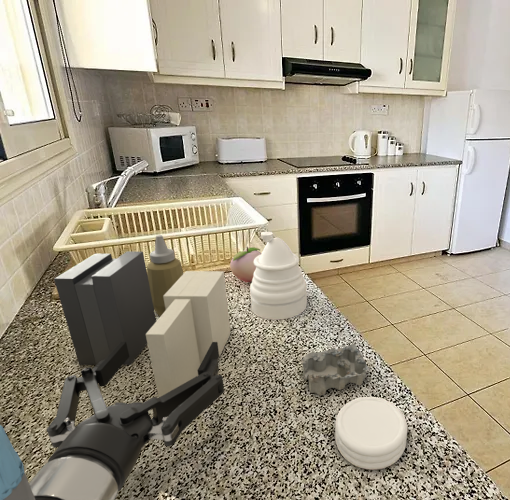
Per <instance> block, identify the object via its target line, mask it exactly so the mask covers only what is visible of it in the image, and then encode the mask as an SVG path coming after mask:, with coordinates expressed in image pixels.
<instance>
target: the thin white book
mask: <svg viewBox="0 0 510 500" xmlns="http://www.w3.org/2000/svg"><path fill="white" fill-rule="evenodd" d="M146 339H147V347H148V348H147V349H148V353H149V358H150V362H151V367H152V372H153V376H154V380H155V386H156V391H157V396H158V398H159V397H161V396H163V395H164V394H166V393H168V392H170V391H171V390H173V389H175V388H177V387H179V386H180V385H182V384H184V383H186V382H187V381H189V380H191V379H193V378H195V377H196V376H198V368H199V367H200V360H199V354H198V347H197V340H196V334H195V327H194V321H193V314H192V307H191V301H190V299H175V300H174V301H173V302H172V303H171V305H170V306H169V307H168V308H167V309H166V311H165V312H164V313H163V314H162V315H161V317H160V316H159V318H158V319H156V323H155V324H154V325H153V326H152V327H151V328H150V330H149V331H148V332H147V333H146Z"/></svg>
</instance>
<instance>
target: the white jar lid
mask: <svg viewBox="0 0 510 500" xmlns="http://www.w3.org/2000/svg"><path fill="white" fill-rule="evenodd" d="M334 423H335V425H334V440H335V444H336V447H337V450H338V451H339V453H340V455H341V456H342V457H343V458H344V459H345V461H347V462H349V463H350V464H351V465H353V466H355V467H357V468H360V469H364V470H371V471H372V470H382V469H385V468H388V467H390V466H393V465H394V464H395V463H397V461H398V460H399V459H400V458H401V457H402V456H403V454H404V452H405V449H406V446H407V437H408V422H407V420H406V417H405V414H404V413H403V412H402V411H401V409H400V408H399V407H398V406H396V405H395V404H394V403H393V402H391V401H389V400H386V399H384V398H381V397H377V396H362V397H357V398H355V399H352V400H350V401H348V402H347V403H345V404H344V405H343V406H342V407H341V408H340V410H339V411H338V413H337V415H336V418H335V422H334Z"/></svg>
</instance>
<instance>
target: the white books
mask: <svg viewBox="0 0 510 500" xmlns="http://www.w3.org/2000/svg"><path fill="white" fill-rule="evenodd" d="M183 273H184V274H183V275H182V276H181V277H180V278H179V279H178V280H177V282H176V283H175V284H174V285H173V286H172V287H171V288H170V289H169V290H168V291H167V292H166V294H165V295H164V296H163V298H164V303H165V309H167V308H168V307H169V306H170V305H171V303H172V302H173V301H174V300H175V299H190V301H191V307H192V314H193V321H194V327H195V334H196V340H197V347H198V354H199V360H200V365H201V363H202V361H203V359H204V357H205V355H206V353H207V351H208V349H209V347H210V346H211V344H212V342H217V343H218V351H219V358H218V360H219V359H220V357H221V355H222V353H223V350H224V348H225V346H226V344H227V342H228V340H229V337H230V336H231V333H232V332H231V324H230V323H231V322H230V315H229V313H230V312H229V306H228V305H229V304H228V295H227V286H226V278H225V277H226V276H225V271H223V270H221V271H219V270H218V271H217V270H215V271H214V270H186V271H185V272H183Z"/></svg>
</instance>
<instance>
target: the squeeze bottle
mask: <svg viewBox="0 0 510 500" xmlns="http://www.w3.org/2000/svg"><path fill="white" fill-rule="evenodd" d="M149 258H150V261H149V263H147V265H146V270H147V275H148V281H149V286H150V291H151V296H152V301H153V307H154V312H155V314H157V316H158V317H159V318H160V317H161V315H162V314H163V313H164V312H165V311H166V309H165V303H164V298H163V296H164V295H165V294H166V292H167V291H168V290H169V289H170V288H171V287H172V286H173V285H174V284H175V283H176V282H177V280H178V279H179V278H180V277H181V276H182V275H183V274H184V273H185V272H184V269H183V265H182V262H181V260H180V259H178V258H176V255H175V250H173V249H172V248H168V246H167V243H166V242H165V239H164V236H163V234H158V235H155V244H154V250H153V251H150V253H149Z"/></svg>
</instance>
